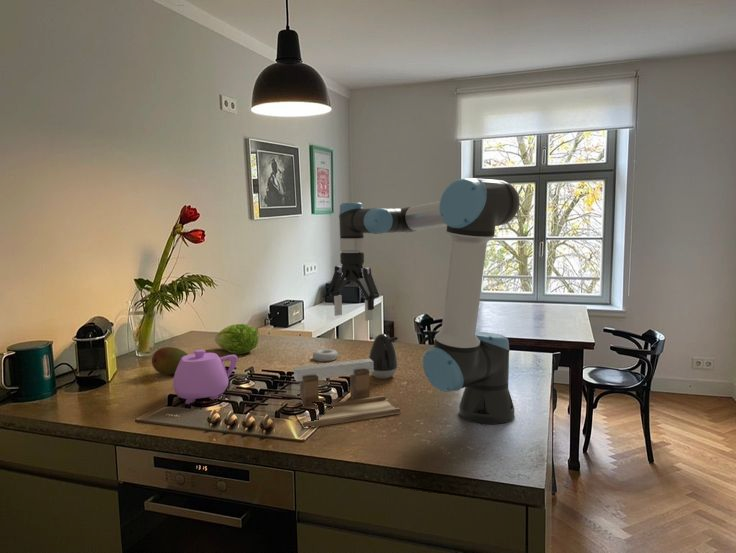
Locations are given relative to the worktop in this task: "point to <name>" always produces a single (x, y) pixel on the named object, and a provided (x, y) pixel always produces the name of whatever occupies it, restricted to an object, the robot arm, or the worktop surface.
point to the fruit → (167, 359)
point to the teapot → (202, 375)
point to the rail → (333, 369)
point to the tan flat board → (354, 411)
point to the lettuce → (237, 338)
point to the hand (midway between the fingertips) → (353, 317)
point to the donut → (325, 355)
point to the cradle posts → (357, 387)
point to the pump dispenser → (384, 356)
